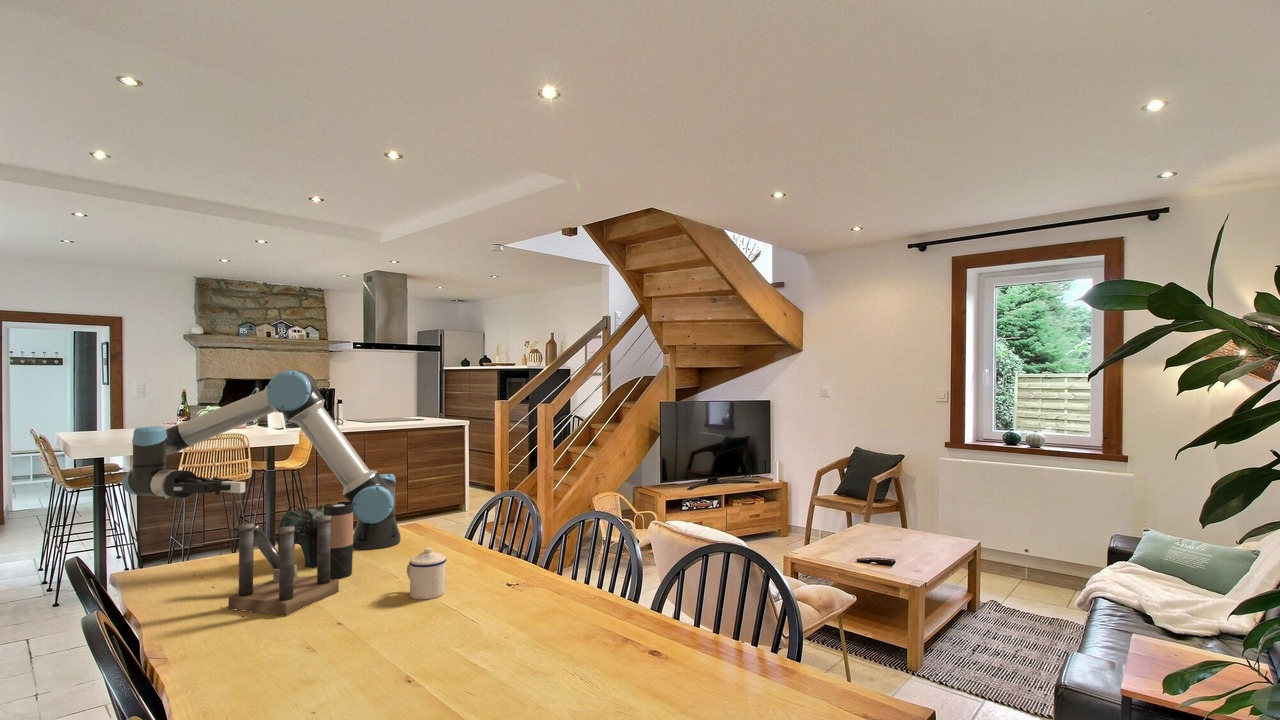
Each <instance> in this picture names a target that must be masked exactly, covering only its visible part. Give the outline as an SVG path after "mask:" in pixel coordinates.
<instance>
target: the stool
mask: <svg viewBox="0 0 1280 720" xmlns="http://www.w3.org/2000/svg"><path fill="white" fill-rule="evenodd" d="M317 523H318V535H317V567H316V568H317V569H316V577H309V576H298V564H294V563H295V561H294V560H295V559H294V558H295V557H294V556H295V547H294V532H295V527H294V526H286V527H281V528H278V534H280V551H279V569H275V570H274V569H273V578H272V580H269V581H266V582H263V583H261V584H258V585H256V586H254V554H255V553H254V551H255V549H254V547H255V543H254V525H255V523H252V522H251V523H250V522H249V523H241V524H239V525H238V531H239V534H238V536H239V537H238V538H239V539H238V541H239V542H238V592H237V593H234V594H231V595H229V596H228V598H227V599H228V601H227V602H228V603H227V604H228V610H230V609H237V610H236V611H239V610H245V611H244V612H247V611H252V612H251V613H255V612H260V613H259V614H264V613H267V614H266V615H272V614H274V616H281V615H284V616H283V617H288V616H289V614H290V615H292V614H294V613H296V612H298V611H297V610H299V609H301V608H303V607H305V606H307V607H309V606H311V605H310V604H312V603H314V602H316V603H317V601H318V602H320V601H322V600H324V598H325V599H327V598H329V597H331V596H333V595H335V594H337V592H338V593H339V592H340V591H339V590H340V589H339V588H340V587H339V586H340V585H339V584H340V583H339V580H340V579H334V580H330V534H331V516H319V517H317ZM330 595H331V596H330ZM328 596H329V597H328ZM326 597H327V598H326ZM319 600H320V601H319ZM314 604H315V603H314ZM308 605H309V606H308ZM312 605H313V604H312ZM305 608H306V607H305ZM303 609H304V608H303ZM301 610H302V609H301ZM295 611H296V612H295ZM299 611H300V610H299ZM293 612H294V613H293ZM291 613H292V614H291ZM275 614H276V615H275ZM287 615H288V616H287Z"/></svg>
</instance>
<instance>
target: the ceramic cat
mask: <svg viewBox="0 0 1280 720" xmlns="http://www.w3.org/2000/svg"><path fill="white" fill-rule="evenodd" d="M305 499H306V502H307V508H306V509H302V508H300V507H299V506H298V505H292V506H290V507H288V508H287V510H286V512H285V514H283V516H282V517H281V519H280V523H279V528H281V527H286V526H294V527H295V532H294V548H295V547H296V545H298V546H300V548H301V550H302V552H303V555H304V567H305V568H309V569H315V568H317V535H318V523H317V517H319V516H324V508H323V505H322V504H320V505H319V506H317V508H316V507H315V505H312V507H311V508H310V507H309V498H308V497H307V496H303V497H302V498H301V501H302V502H303V501H304V500H305ZM294 508H297V510H291V509H294ZM309 508H310V509H309ZM290 510H291V511H290ZM279 528H278V529H279ZM277 551H278V552H279V551H280V534H279V533H278V534H277Z"/></svg>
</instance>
